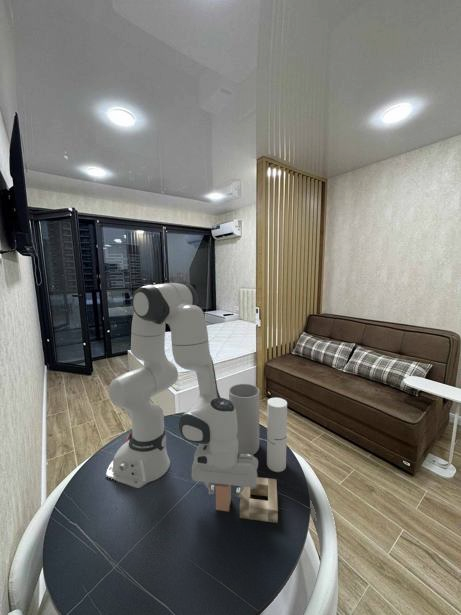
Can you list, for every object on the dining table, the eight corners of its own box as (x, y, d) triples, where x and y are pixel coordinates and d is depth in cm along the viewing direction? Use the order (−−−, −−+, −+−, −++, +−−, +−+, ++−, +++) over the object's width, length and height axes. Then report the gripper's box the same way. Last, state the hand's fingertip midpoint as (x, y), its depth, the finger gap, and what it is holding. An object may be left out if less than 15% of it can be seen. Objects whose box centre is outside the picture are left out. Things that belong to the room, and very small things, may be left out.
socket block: (239, 517, 71) (239, 505, 71) (243, 486, 82) (243, 475, 82) (277, 523, 70) (277, 510, 69) (276, 490, 80) (276, 479, 80)
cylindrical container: (286, 473, 87) (287, 408, 85) (266, 470, 89) (267, 406, 86) (285, 459, 94) (286, 398, 91) (267, 456, 96) (267, 396, 93)
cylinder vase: (265, 448, 101) (265, 391, 98) (243, 462, 93) (243, 401, 90) (244, 433, 110) (244, 381, 107) (223, 445, 102) (222, 389, 99)
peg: (215, 509, 74) (215, 485, 73) (218, 498, 78) (218, 475, 77) (228, 511, 73) (228, 487, 72) (230, 499, 77) (230, 476, 76)
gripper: (258, 448, 75) (259, 489, 76) (194, 443, 78) (196, 482, 79) (257, 463, 68) (258, 507, 70) (188, 457, 72) (190, 499, 73)
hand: (225, 494), depth 75 cm, fingers open, 7 cm apart
